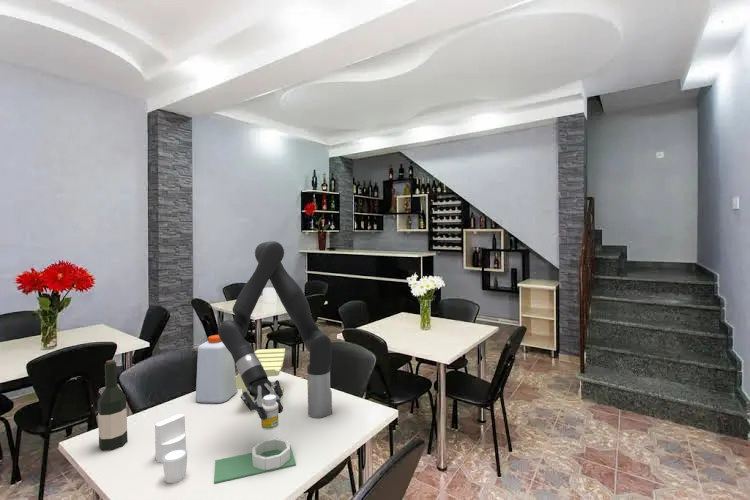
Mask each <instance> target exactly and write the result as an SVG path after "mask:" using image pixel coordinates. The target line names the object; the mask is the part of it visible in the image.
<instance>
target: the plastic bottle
mask: <svg viewBox="0 0 750 500" xmlns="http://www.w3.org/2000/svg"><path fill="white" fill-rule="evenodd" d="M196 361H197V362H196V384H195V385H196V386H195V400H196V401H197V402H198V403H200V404H202V403H203V404H205V403H206V404H221V403H225V402H227V401H228V400H229V399H231V398H233V396H234V395H235V394H236V393H237V391H238V389H236V376H237V375H236V368H235V367H236V364H235V361H234V359H233V357H232V355H231V353H230V352H229V350H228V349H227V348H226V347H225V345H224V344H223V342H222V341H221V339H220V337H219V334H214V335H210V336H208V338H207V341H205V342H203V343H201V344H200V345H199V346H198V347H197V360H196Z"/></svg>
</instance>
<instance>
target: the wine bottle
mask: <svg viewBox="0 0 750 500" xmlns="http://www.w3.org/2000/svg"><path fill="white" fill-rule="evenodd" d="M117 369H118V366H117V362H116V360H115V359H110V360H106V362H105V363H104V377H105V379H104V382H105V385H104V386H105V388H104V389H103V391H102V393H101V395H100V396H99V397H98V400H97V423H98V425H97V427H98V448H99V450H100V451H101V452H110V451H114V450H117V449H120V448H123V447H124V446H125V445H126V444H127V443H128V442H129V441H128V440H129V439H128V415H127V414H128V413H127V395H126V394H125V393H124V392H123V391H122V389H120V387H119V386H118V372H117V371H118V370H117Z"/></svg>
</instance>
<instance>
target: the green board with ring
mask: <svg viewBox="0 0 750 500" xmlns="http://www.w3.org/2000/svg"><path fill="white" fill-rule="evenodd" d="M214 462H215V463H214V476H213V478H214V480H213V484H214V485H215V484H219V483H220V484H221V483H224V482H228V481H232V480H237V479H243V478H247V477H251V476H256V475H259V474H260V475H261V474H264V473H269V472H273V471H278V470H281V469H286V468H291V467H294V466H295V467H296V466H297V463H296V459H295V455H294V453H293V450H292V446H291V444H290V442H289V441H288V440H287V439H283V438H279V437H275V438H268V439H265V440H261V441H260V442H258V443H257V444H255V445H254V446H252V448H251V452H250V453H245V454H238V455H235V456H229V457H226V458H220V459H216V460H214Z"/></svg>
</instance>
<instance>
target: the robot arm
mask: <svg viewBox="0 0 750 500" xmlns="http://www.w3.org/2000/svg"><path fill="white" fill-rule="evenodd" d="M254 257H255V260H256V262H257V266H256V269H255V270H254V272H253V274H252V276H250V278H249V280H248V281H247V282H246V283H245V284H244V286H243V288H242V290H241V291H240V293H239V294H238V296H237V298H236V300H235V303H234V304H233V307H232V313H233V314H234V318H233V320H231V319H226V320H224V321H222V322H221V323H220V324H219V326H218V329H217V333H218V334H217V335H219V337H220V339H221V341H222V342H223V344H224V345H225V347H226V348H227V349H228V350H229V352H230V353H231V355H232V357H233V359H234V364H235V367H236V368H237V372H238V373H239V374H240V376H241V378H242V380H243V382H244V384H245V387H246V388H247V391H245V392H243V394H241V395H240V399H241V400H242V402H243V403H244V405H245V406H246V407H247V409H248V410H249V411H250V412H252V411H256V412H257V415H258V416H259V418H260V420H261V419H262V420H265V419H266V418H267V414H266V412H265V410H264V408H263V406H262V404H261V399H262V398H264V396H266V395H270V393H271V395H275V396H276V402H277V403H278V414H282V412H283V411H284V406H283V404H282V402H281V398H282V397H283V396H284V394H283V393H284V392H283V393H282V390H281V388H282V386H281V384H280V380H278V379H276V380H275V381H271V380H270V379H269V378H268V377H267V374H266V372H265V370H264V368H263V366H262V364H261V362H260V360H259V359H258V357H257V356H256V354H255V350H254V349H253V347H252V345H251V344H250V342H249V341H247V340H246V339H245V337H246V336H247V333H248V330H249V326H250V322H251V319H252V318H251V317H252V314H253V312H254V310H255V308H256V306H257V304H258V301H259V299H260V297H261V295H262V293H263V291H264V289H265V287H266V285H267V284H268V283H269V281H270V283H271V284H272V286H273V287H272V288H274V291H275V293H276V294H277V297H278V299H279V301H280V302H281V304H282V306H283V308H284V309H285V311H286V313H287V314H288V315H289V318H290V319H291V321H292V322H293V324H294V325H295V327H296V329H297V330H298V332H299V335H300V337H301V339H302V343H303V344H304V348H305V349H306V350H307V351H308V352H309V363H308V364H307V368H306V370H307V371H306V372H307V373H306V374H307V375H306V376H307V377H306V378H307V414H308V416H309V417H312V418H314V419H315V418H319V419H320V418H324V417H327V416H329V415H331V414H333V396H332V395H333V392H332V389H331V366H332V361H333V360H332V355H333V354H332V353H333V351H332V350H333V349H332V347H333V346H332V340H331V338H330V336H328V335H327V334H325V333H323V332H322V331H321V330H320V328H319V327H318V325H317V324H316V322H315V320H314V318H313V315H312V313H311V311H312V310H311V308H310V304H309V301H308V299H307V297H306V295H305V293H304V291H303V290H302V288H301V287H300V285H299V284H298V283H297V282H296V280H295V279H294V278H293V277H292V275H290V274H289V273H288V272H287V271H286V269H285V267H284V265H283V263H282V261H283V259H284V257H285V249H284V247H283V245H282V244H281V243H280V242H278V241H274V240H273V241H272V240H271V241H270V240H269V241H266V242H262V243H259V244H258V245H257V246H256V248H255V251H254ZM272 388H273V389H274V390H273V389H272ZM250 395H251V396H253V397H254V402H253V400H252V399H251V398H250ZM261 406H262V407H261Z"/></svg>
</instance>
